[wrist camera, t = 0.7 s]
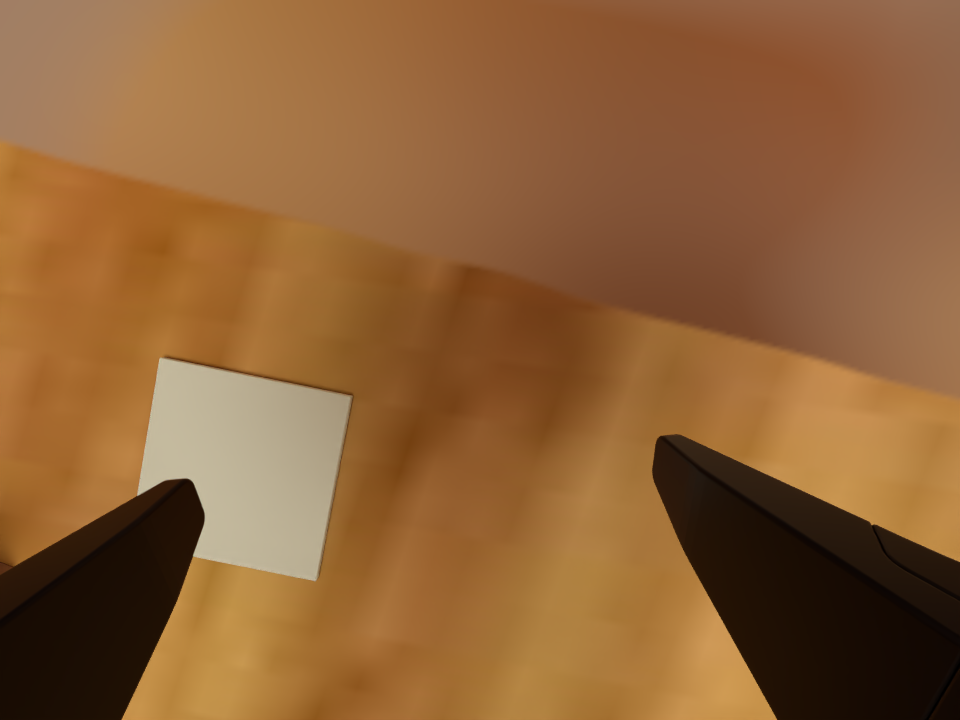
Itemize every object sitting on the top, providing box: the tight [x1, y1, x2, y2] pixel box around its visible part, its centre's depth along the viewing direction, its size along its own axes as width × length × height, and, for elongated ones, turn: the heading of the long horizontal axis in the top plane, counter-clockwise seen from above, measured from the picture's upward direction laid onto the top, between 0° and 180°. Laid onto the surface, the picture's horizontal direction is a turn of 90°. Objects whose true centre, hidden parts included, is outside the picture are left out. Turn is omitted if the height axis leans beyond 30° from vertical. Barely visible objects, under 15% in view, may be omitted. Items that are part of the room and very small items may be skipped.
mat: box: [137, 357, 353, 581], centre depth 24 cm, size 10×10×1 cm
